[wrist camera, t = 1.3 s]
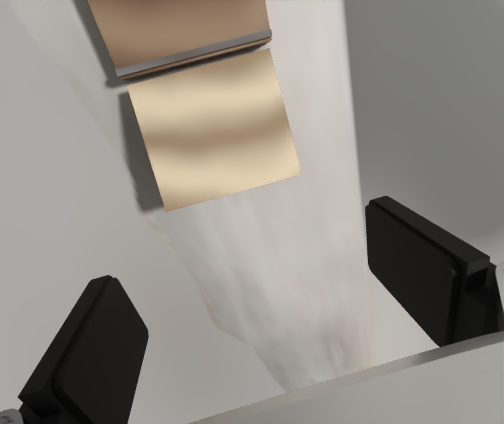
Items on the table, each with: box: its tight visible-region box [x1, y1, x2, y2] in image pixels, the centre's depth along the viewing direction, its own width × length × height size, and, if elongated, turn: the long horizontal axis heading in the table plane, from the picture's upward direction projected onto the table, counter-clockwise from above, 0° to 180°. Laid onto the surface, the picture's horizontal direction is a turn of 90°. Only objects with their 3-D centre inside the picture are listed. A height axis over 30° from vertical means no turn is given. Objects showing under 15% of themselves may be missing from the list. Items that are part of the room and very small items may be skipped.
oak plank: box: [127, 48, 302, 212], centre depth 24 cm, size 11×12×2 cm
